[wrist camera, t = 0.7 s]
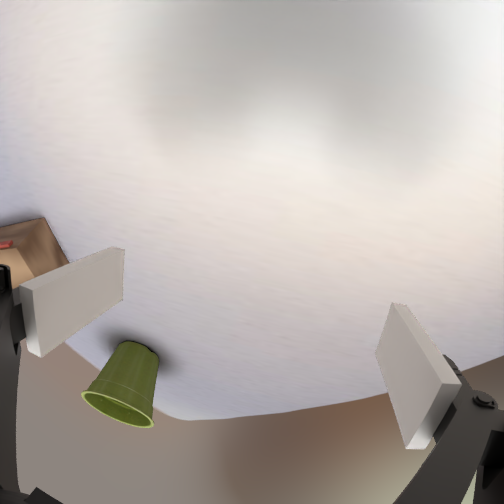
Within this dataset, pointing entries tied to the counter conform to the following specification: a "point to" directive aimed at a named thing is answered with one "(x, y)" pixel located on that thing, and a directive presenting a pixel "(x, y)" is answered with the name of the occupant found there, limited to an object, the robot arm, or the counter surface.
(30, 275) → the wooden box
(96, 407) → the plant pot
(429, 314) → the counter surface
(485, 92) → the counter surface
